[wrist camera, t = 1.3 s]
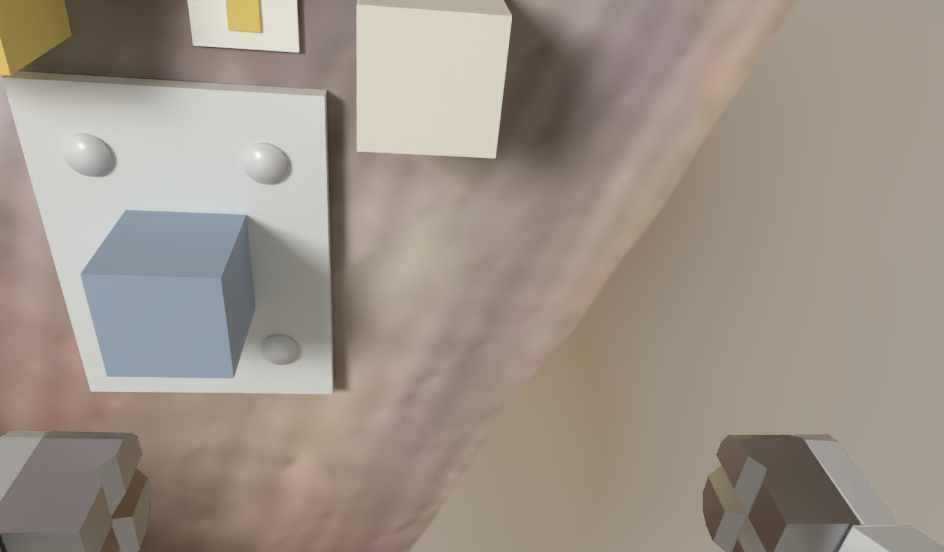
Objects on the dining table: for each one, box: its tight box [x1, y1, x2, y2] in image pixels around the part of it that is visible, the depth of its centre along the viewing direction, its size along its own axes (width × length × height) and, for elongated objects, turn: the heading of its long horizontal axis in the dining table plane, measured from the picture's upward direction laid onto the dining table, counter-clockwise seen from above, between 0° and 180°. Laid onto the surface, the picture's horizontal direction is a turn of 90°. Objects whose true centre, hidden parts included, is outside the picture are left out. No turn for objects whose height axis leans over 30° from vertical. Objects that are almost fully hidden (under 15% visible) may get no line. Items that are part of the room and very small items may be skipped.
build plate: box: [2, 71, 334, 394], centre depth 32 cm, size 16×12×1 cm
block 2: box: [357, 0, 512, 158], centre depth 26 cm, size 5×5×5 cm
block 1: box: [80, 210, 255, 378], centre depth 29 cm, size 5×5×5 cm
